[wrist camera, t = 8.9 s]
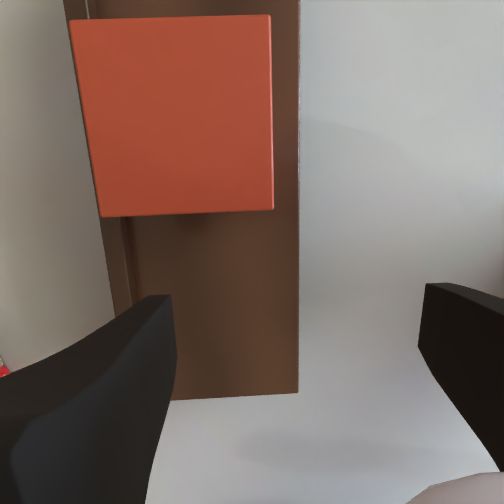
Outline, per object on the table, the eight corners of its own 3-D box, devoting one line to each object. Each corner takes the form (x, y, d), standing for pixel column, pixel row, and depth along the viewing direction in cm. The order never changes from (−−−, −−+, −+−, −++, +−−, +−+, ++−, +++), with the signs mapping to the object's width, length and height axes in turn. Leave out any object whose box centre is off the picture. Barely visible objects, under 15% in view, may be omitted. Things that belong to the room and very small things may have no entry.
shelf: (285, -57, 17) (306, -122, 12) (287, 348, 24) (302, 407, 19) (96, -52, 17) (42, -118, 12) (151, 356, 23) (131, 418, 19)
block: (258, 45, 15) (271, 13, 10) (262, 182, 16) (274, 210, 12) (121, 50, 14) (66, 19, 10) (138, 187, 16) (99, 218, 11)
